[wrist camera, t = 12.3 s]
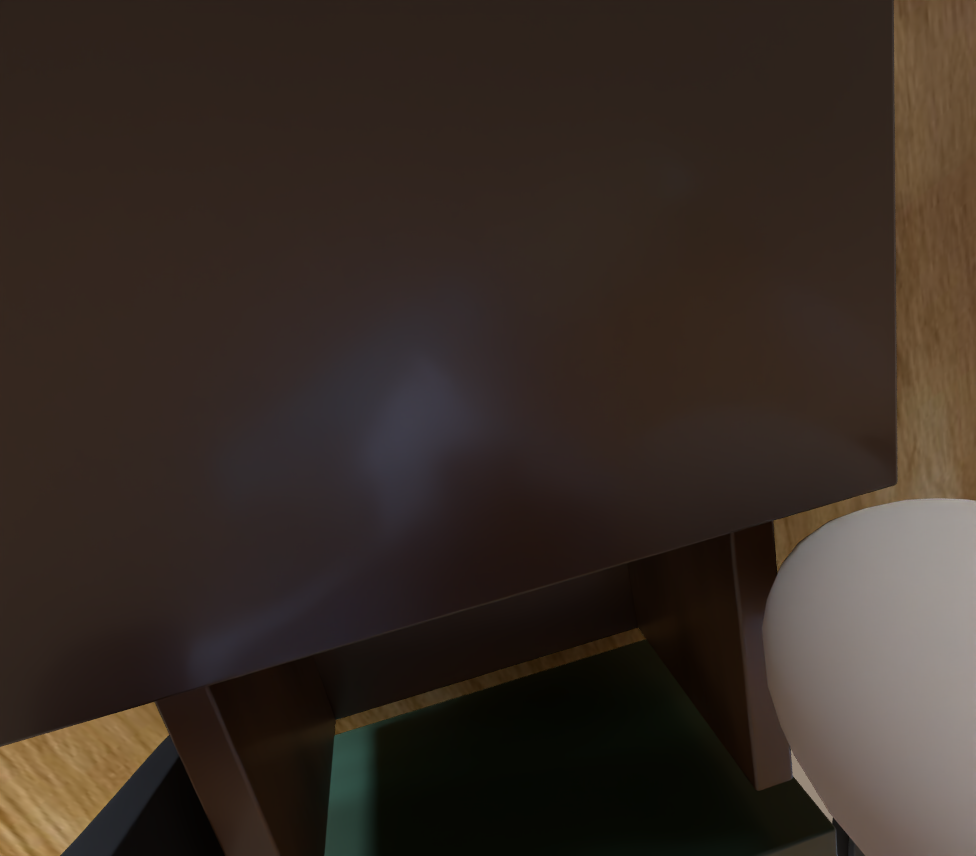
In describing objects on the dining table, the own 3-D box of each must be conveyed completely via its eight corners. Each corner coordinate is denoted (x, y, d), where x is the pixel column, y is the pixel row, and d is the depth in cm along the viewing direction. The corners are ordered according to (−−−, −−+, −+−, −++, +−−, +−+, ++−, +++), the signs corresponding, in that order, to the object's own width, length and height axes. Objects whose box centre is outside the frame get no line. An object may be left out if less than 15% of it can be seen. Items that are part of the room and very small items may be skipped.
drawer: (695, 782, 20) (847, 1027, 14) (357, 898, 19) (348, 1229, 12) (615, 207, 15) (805, 163, 8) (134, 313, 13) (-89, 359, 7)
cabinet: (647, 379, 17) (899, 485, 9) (192, 495, 16) (-8, 751, 7) (558, -283, 13) (888, -1256, 5) (-81, -208, 11) (-1259, -1431, 3)
